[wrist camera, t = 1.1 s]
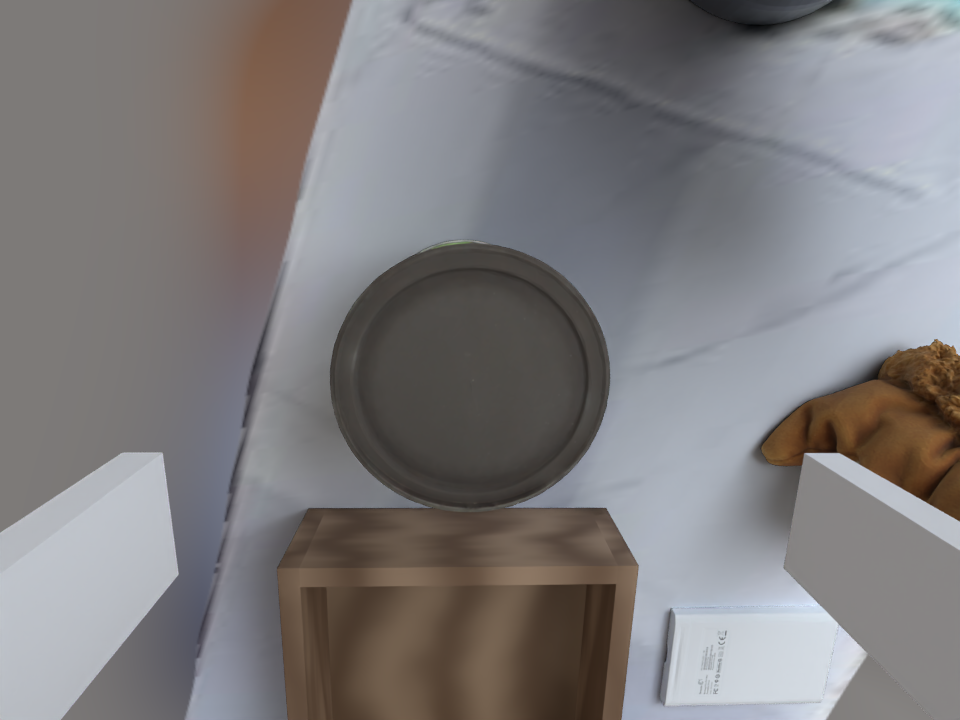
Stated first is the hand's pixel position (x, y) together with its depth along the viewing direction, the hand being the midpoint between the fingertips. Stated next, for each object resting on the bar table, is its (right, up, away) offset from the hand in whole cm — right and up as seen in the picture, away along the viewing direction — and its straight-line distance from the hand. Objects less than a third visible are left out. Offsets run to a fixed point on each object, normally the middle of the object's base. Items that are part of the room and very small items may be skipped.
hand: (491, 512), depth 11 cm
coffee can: (-1, +6, +22) cm, 23 cm away
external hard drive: (+20, -19, +30) cm, 41 cm away
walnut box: (-2, -17, +27) cm, 32 cm away
